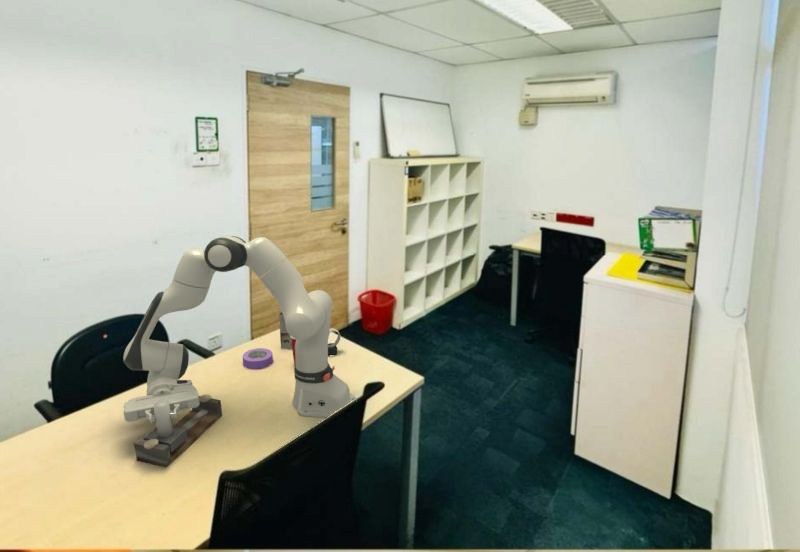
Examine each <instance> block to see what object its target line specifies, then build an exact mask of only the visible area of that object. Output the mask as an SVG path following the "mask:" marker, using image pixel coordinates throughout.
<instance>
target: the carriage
mask: <svg viewBox="0 0 800 552" xmlns="http://www.w3.org/2000/svg"><path fill="white" fill-rule="evenodd" d="M154 412H155V419H156V422H155V424H156V427H155V428H154V429H153V430H151V431H150V432H149V433H148V434H146V436H144V437H143V440H146V441H147V440H150V439H157V440H158V442H159V444H163V445H168V446H169V449H170V452H173V451H174V450H175V449H176V448H177V447H178V446H179V445H180V444H181V443H182V442H184V441H185V440H186V439H187V438H188V435H187V429H184V428H179V427H175V426H173V420H172V419H171V414H170V406H169V401H167V400H161V401H158V402H156V403H155V404H154Z"/></svg>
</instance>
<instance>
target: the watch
mask: <svg viewBox="0 0 800 552" xmlns="http://www.w3.org/2000/svg"><path fill="white" fill-rule="evenodd" d="M331 332H336V333H337V338H336V339H335V342H331V343H329V342H328V357H331V356H330V355H334V356H338V347H337V346H338V344H339V343H340V341H341V334H340V332H339V330H338V329H336V328H334V327H332V328H331V327H330V330H329V335H330V334H331Z"/></svg>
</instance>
